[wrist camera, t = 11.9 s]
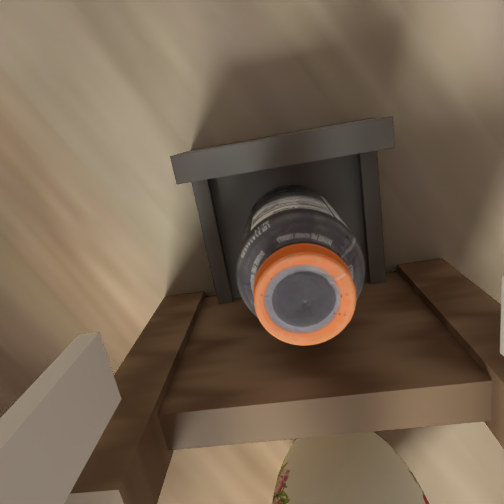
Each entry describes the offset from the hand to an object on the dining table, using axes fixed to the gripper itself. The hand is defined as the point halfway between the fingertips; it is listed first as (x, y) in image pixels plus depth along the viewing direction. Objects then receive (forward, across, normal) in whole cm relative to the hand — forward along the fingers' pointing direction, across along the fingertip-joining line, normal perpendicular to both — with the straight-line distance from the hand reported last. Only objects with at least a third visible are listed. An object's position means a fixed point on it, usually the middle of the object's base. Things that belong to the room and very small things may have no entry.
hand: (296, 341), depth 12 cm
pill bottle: (+14, +1, 0) cm, 14 cm away
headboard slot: (+14, +1, 0) cm, 14 cm away
